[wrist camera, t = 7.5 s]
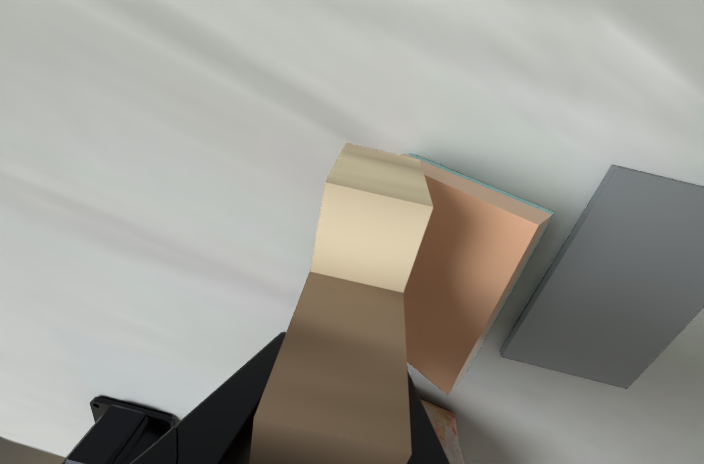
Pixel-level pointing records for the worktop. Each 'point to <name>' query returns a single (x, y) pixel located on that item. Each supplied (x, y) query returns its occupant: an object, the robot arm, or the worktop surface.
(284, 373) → the cream brown stepped block
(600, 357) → the pad
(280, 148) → the worktop surface
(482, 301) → the tile
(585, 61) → the worktop surface
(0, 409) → the worktop surface
